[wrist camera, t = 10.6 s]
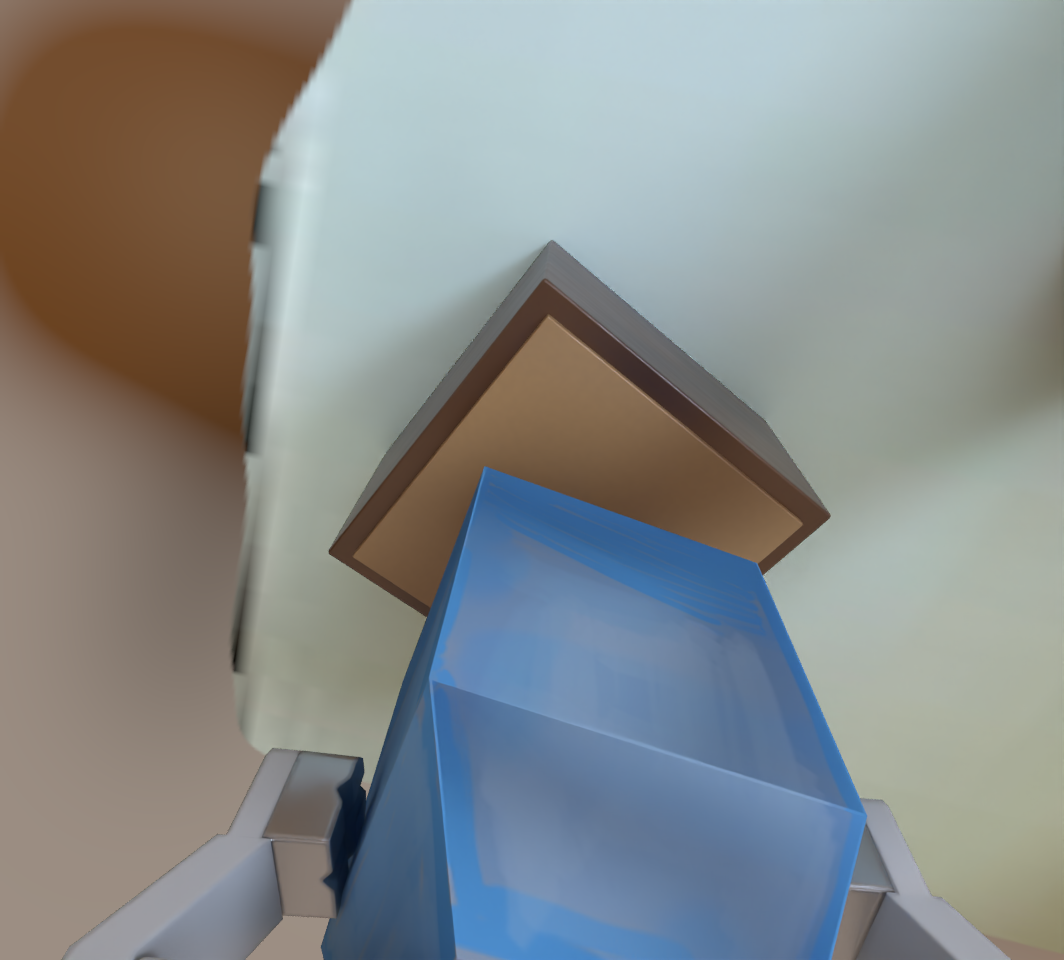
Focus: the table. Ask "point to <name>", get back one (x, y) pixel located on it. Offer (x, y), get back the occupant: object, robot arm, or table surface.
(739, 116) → the table surface
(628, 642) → the perfume bottle
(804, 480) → the walnut block
